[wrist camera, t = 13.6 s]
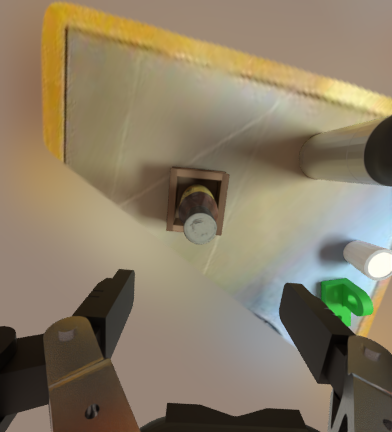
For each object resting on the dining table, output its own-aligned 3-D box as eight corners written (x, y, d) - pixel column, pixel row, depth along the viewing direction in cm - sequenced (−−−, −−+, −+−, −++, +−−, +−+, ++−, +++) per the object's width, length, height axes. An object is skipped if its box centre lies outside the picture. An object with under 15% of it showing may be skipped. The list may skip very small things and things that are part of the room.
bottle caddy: (225, 171, 44) (231, 172, 37) (218, 226, 46) (222, 237, 39) (172, 166, 43) (169, 166, 36) (168, 222, 46) (164, 232, 39)
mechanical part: (320, 281, 50) (344, 302, 42) (345, 277, 50) (373, 297, 42) (321, 323, 53) (343, 350, 45) (344, 320, 53) (371, 346, 45)
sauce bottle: (186, 180, 43) (181, 191, 23) (215, 187, 43) (234, 204, 24) (178, 210, 44) (168, 244, 25) (207, 217, 45) (218, 256, 25)
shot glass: (371, 236, 48) (401, 247, 41) (368, 263, 49) (396, 279, 42) (341, 238, 48) (366, 250, 41) (339, 266, 49) (363, 282, 42)
